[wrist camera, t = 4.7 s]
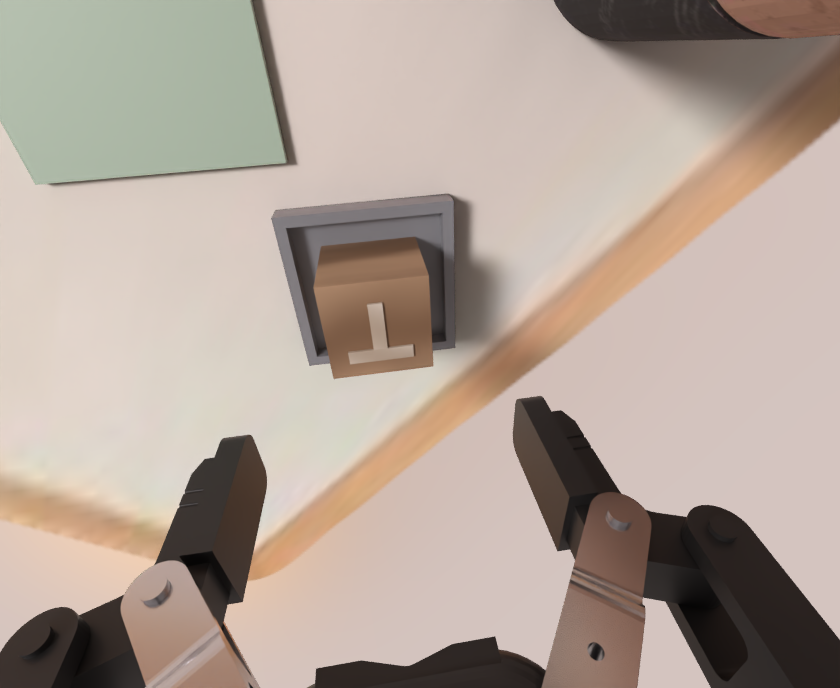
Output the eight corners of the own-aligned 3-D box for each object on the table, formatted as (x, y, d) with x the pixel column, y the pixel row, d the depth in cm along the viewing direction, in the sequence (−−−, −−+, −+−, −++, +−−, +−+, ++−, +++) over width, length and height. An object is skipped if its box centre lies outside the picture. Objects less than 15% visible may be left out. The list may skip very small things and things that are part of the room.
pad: (-163, -193, 12) (-178, -201, 11) (207, -201, 12) (203, -209, 12) (41, 182, 17) (35, 184, 17) (287, 161, 18) (286, 162, 18)
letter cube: (320, 246, 20) (313, 289, 16) (415, 236, 20) (428, 276, 16) (337, 328, 22) (334, 381, 19) (420, 318, 23) (433, 369, 19)
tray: (275, 210, 19) (271, 218, 18) (448, 193, 20) (453, 200, 19) (311, 353, 24) (309, 365, 23) (451, 336, 24) (455, 347, 23)
